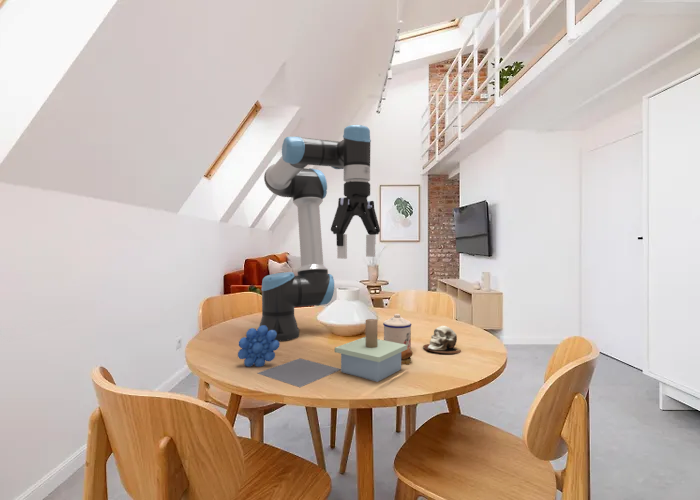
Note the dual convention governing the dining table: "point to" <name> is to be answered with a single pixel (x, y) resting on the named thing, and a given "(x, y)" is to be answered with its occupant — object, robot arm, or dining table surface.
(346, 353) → the lid
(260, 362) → the blue bumpy cluster
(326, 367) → the mat
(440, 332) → the skull
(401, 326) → the teacup with lid
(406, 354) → the burger
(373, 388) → the dining table surface
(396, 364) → the open box
